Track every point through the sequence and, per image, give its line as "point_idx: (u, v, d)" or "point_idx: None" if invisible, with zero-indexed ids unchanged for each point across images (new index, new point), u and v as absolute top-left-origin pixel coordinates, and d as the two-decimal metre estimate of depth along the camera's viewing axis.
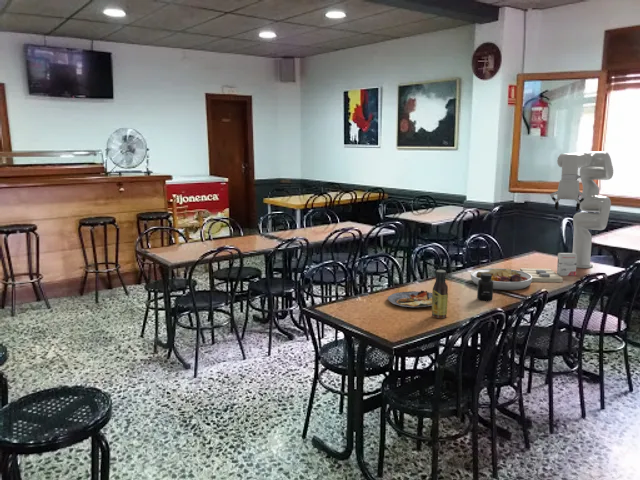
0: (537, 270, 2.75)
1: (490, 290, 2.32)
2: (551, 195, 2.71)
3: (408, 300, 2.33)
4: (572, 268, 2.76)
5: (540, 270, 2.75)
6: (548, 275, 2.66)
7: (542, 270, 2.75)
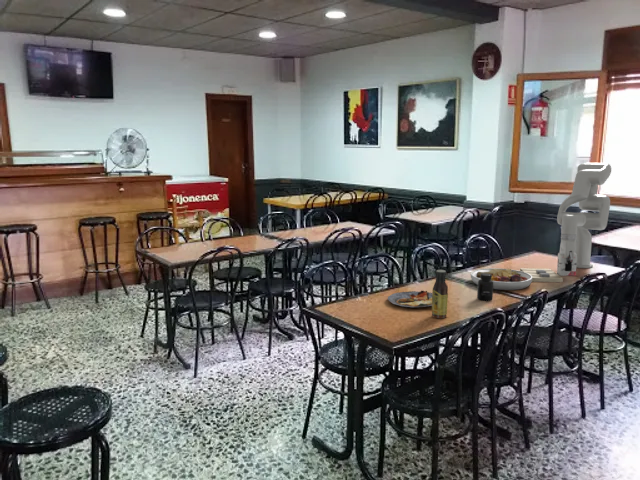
0: (537, 270, 2.75)
1: (490, 290, 2.32)
2: (572, 259, 2.71)
3: (408, 300, 2.33)
4: (572, 268, 2.76)
5: (540, 270, 2.75)
6: (548, 275, 2.66)
7: (542, 270, 2.75)
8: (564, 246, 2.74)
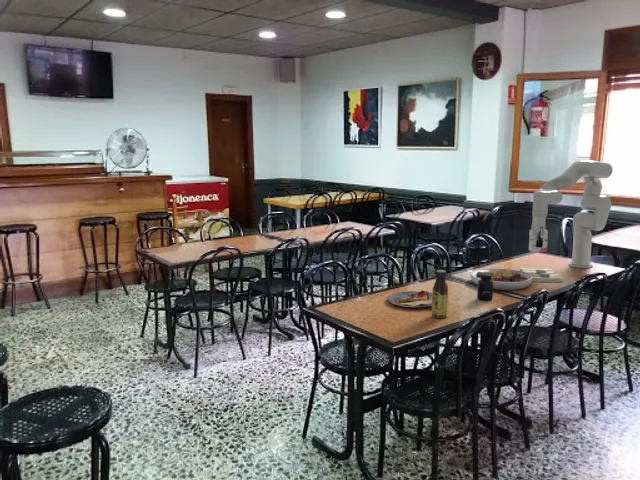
0: (537, 270, 2.75)
1: (490, 290, 2.32)
2: None
3: (408, 300, 2.33)
4: (543, 244, 2.78)
5: (540, 270, 2.75)
6: (548, 275, 2.66)
7: (542, 270, 2.75)
8: (535, 222, 2.76)
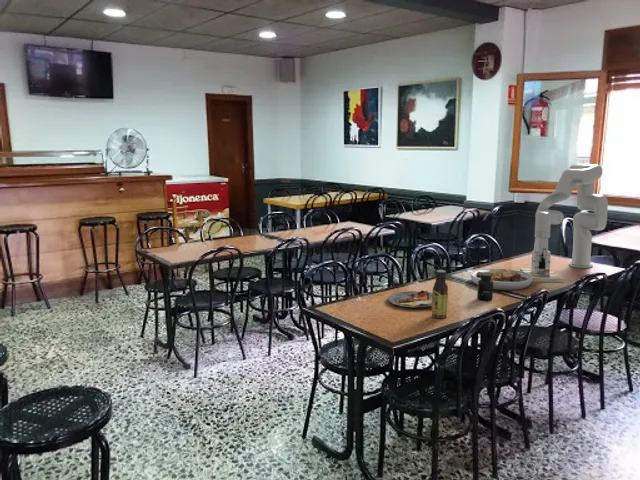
0: (538, 271, 2.72)
1: (490, 290, 2.32)
2: (545, 257, 2.68)
3: (408, 300, 2.33)
4: (546, 266, 2.73)
5: (541, 271, 2.72)
6: (548, 275, 2.66)
7: (543, 271, 2.72)
8: (538, 244, 2.71)
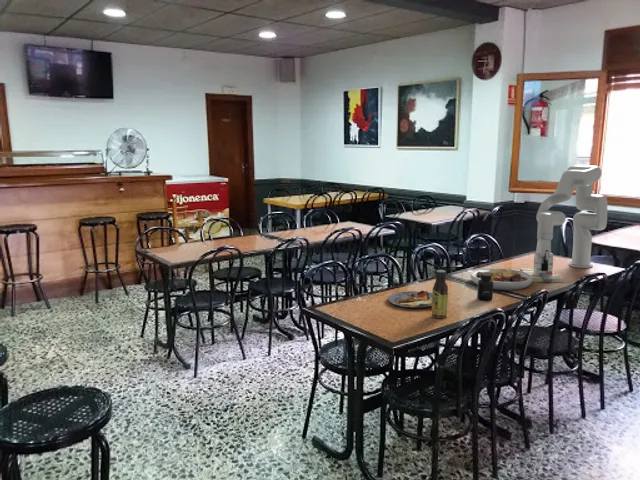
0: (541, 273, 2.68)
1: (490, 290, 2.32)
2: (548, 259, 2.64)
3: (408, 300, 2.33)
4: (549, 268, 2.68)
5: (544, 273, 2.68)
6: (550, 280, 2.61)
7: (546, 273, 2.68)
8: (540, 245, 2.67)
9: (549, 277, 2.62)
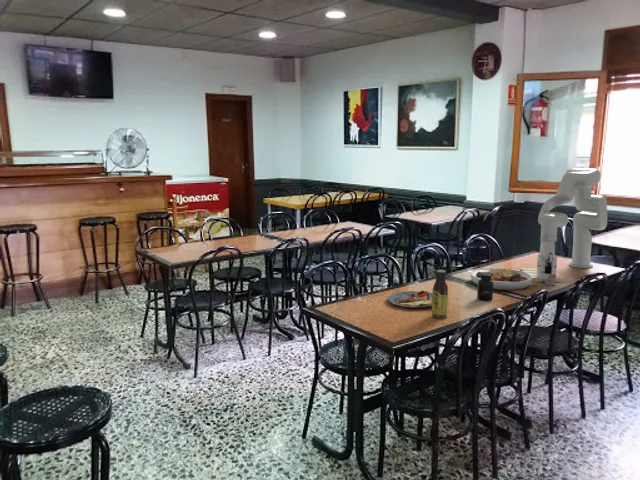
0: (543, 280, 2.63)
1: (490, 290, 2.32)
2: None
3: (408, 300, 2.33)
4: (552, 271, 2.62)
5: (547, 280, 2.63)
6: None
7: (549, 280, 2.63)
8: (544, 248, 2.60)
9: None
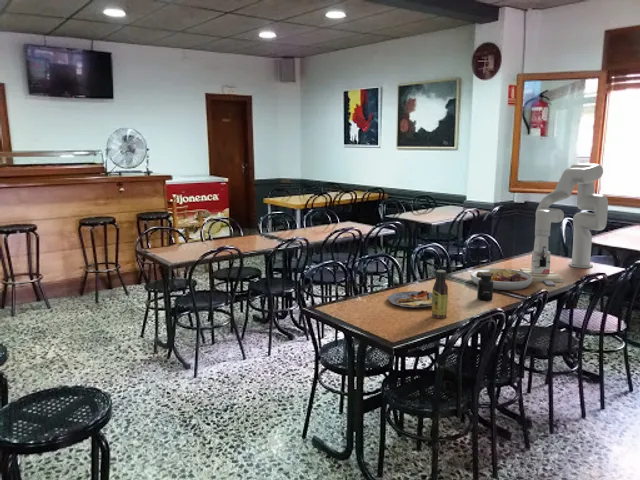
0: (543, 280, 2.63)
1: (490, 290, 2.32)
2: (546, 254, 2.67)
3: (408, 300, 2.33)
4: (546, 266, 2.73)
5: (547, 280, 2.63)
6: None
7: (549, 280, 2.62)
8: (538, 242, 2.71)
9: None
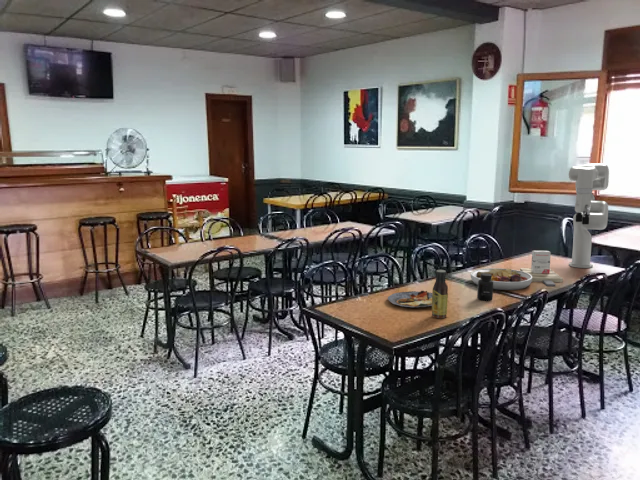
0: (543, 280, 2.63)
1: (490, 290, 2.32)
2: (589, 210, 2.66)
3: (408, 300, 2.33)
4: (546, 266, 2.73)
5: (547, 280, 2.63)
6: None
7: (549, 280, 2.62)
8: (580, 200, 2.71)
9: None
